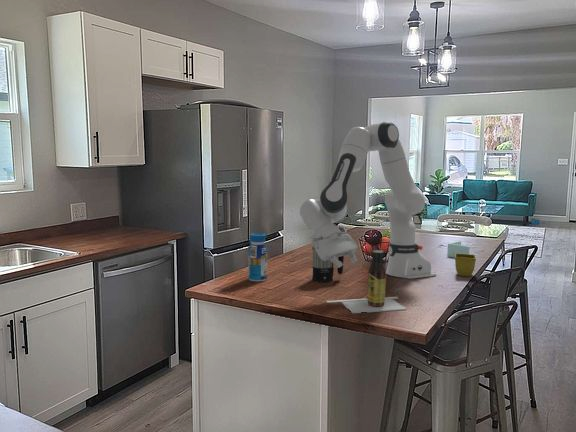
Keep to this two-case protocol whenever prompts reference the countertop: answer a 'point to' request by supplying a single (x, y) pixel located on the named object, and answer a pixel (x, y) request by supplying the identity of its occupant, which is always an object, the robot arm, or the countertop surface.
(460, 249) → the right angle wall
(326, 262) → the milk frother
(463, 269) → the flower pot
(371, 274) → the sauce bottle
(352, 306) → the mat
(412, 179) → the robot arm
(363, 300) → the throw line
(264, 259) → the beverage bottle
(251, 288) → the countertop surface
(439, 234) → the countertop surface
